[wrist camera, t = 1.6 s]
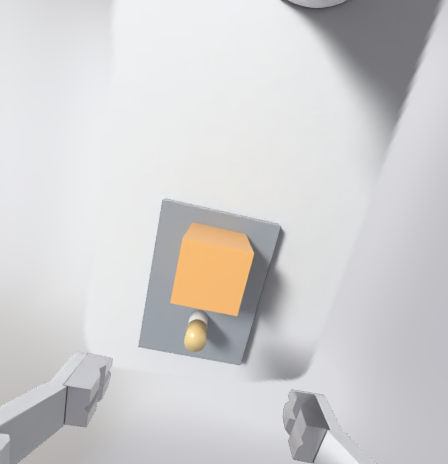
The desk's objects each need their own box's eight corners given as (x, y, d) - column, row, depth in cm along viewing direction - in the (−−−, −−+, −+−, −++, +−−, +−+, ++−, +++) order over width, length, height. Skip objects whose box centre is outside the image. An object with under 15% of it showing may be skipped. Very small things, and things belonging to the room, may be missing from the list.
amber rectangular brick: (192, 222, 26) (182, 238, 20) (245, 234, 27) (254, 253, 20) (182, 272, 28) (170, 303, 21) (233, 282, 28) (237, 316, 21)
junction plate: (165, 198, 27) (150, 204, 21) (277, 223, 28) (292, 236, 22) (142, 339, 32) (124, 375, 26) (239, 356, 33) (243, 396, 27)
